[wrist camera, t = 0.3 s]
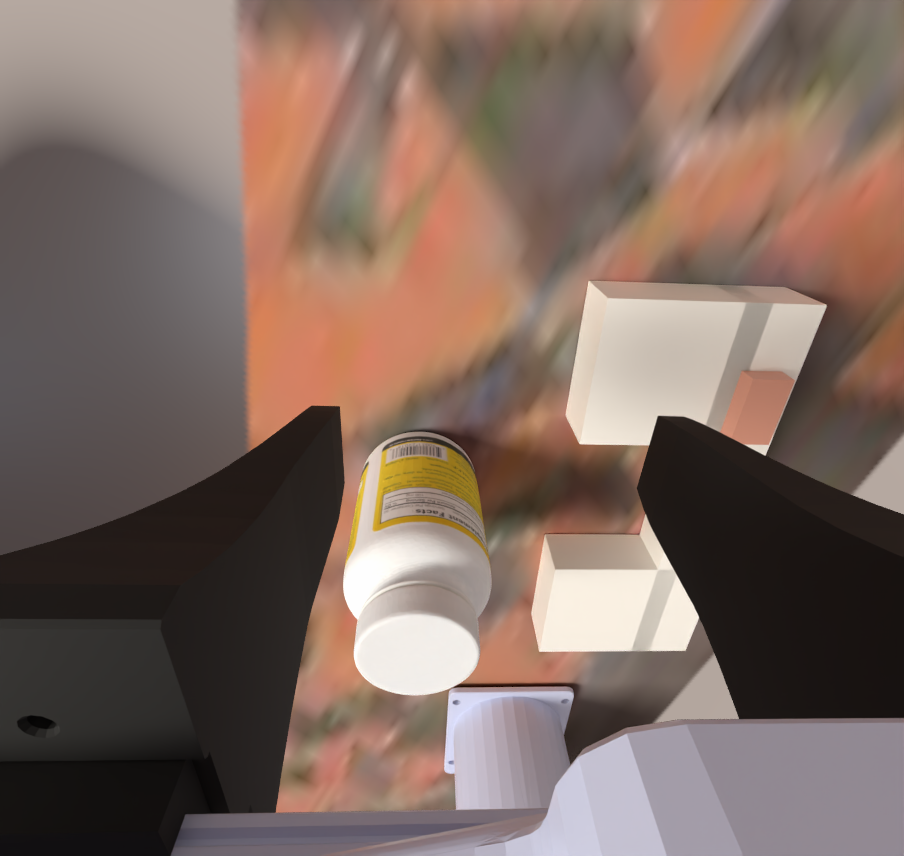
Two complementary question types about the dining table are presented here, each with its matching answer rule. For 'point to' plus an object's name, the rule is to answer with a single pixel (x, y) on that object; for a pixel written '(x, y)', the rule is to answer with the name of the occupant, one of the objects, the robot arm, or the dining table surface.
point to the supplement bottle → (417, 566)
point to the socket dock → (632, 423)
